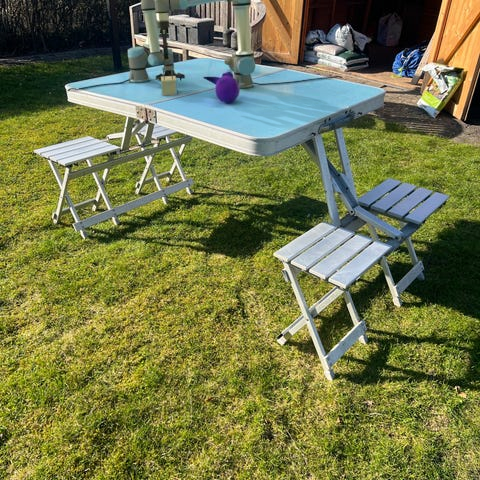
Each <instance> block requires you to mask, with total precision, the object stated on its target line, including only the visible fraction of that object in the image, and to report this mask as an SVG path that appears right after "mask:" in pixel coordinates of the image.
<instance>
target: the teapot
mask: <svg viewBox="0 0 480 480" xmlns="http://www.w3.org/2000/svg"><path fill="white" fill-rule="evenodd" d="M234 52H237V50H234V51H233V53H232V54H231V57H230V56H227V57H226V58H225V59H224V62H223V63H224V64H225V65H226V66H228V68H229V69H230V71H233V72H234V57H233V56H234Z"/></svg>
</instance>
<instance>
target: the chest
mask: <svg viewBox="0 0 480 480" xmlns="http://www.w3.org/2000/svg"><path fill="white" fill-rule="evenodd" d="M160 82H161V81H160ZM160 85H161V91H162V92H161V93H162V96H163V97H164V96H165V97H166V96H178V89H177V80H176V81H170V82H161V83H160Z"/></svg>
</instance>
